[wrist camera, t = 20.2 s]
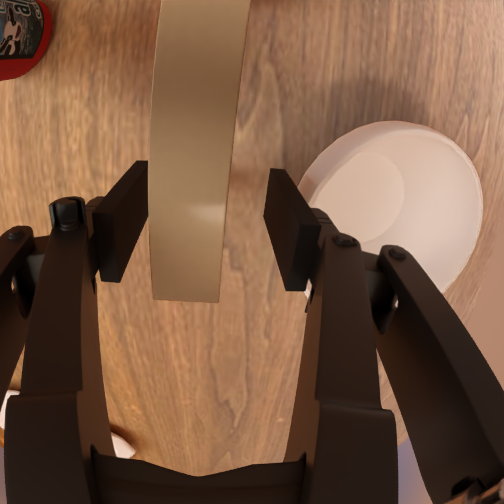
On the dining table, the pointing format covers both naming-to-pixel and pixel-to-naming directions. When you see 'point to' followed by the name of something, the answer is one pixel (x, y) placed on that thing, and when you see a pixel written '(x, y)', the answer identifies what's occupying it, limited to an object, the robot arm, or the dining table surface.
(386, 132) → the bowl
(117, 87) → the dining table surface
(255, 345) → the dining table surface
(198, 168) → the ladle
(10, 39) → the beverage can
